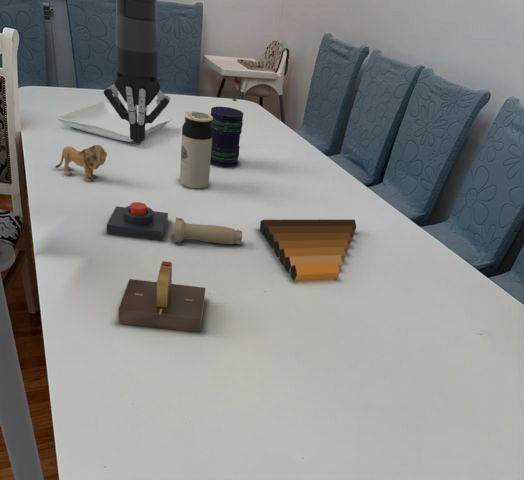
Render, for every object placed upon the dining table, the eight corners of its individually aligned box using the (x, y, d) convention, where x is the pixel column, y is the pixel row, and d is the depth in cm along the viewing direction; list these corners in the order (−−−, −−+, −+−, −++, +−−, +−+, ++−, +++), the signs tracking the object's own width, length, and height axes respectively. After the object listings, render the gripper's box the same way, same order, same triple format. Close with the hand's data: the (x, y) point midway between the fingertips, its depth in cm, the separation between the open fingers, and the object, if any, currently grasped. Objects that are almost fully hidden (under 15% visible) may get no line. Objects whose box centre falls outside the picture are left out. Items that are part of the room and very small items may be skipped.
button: (128, 215, 110) (128, 207, 109) (131, 208, 113) (131, 201, 112) (145, 217, 110) (145, 209, 109) (147, 210, 113) (147, 203, 112)
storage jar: (223, 170, 151) (230, 106, 140) (200, 159, 155) (204, 97, 144) (244, 164, 158) (251, 103, 146) (220, 154, 161) (226, 94, 150)
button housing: (107, 234, 109) (106, 217, 107) (116, 215, 117) (115, 198, 115) (162, 240, 111) (162, 224, 108) (167, 221, 118) (168, 205, 116)
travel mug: (205, 178, 143) (210, 112, 132) (210, 189, 137) (216, 121, 126) (178, 177, 141) (180, 109, 130) (181, 188, 135) (185, 118, 124)
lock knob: (167, 307, 86) (168, 279, 82) (156, 306, 86) (157, 278, 82) (171, 289, 91) (172, 261, 87) (161, 288, 90) (162, 260, 87)
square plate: (103, 111, 179) (102, 99, 176) (172, 129, 175) (173, 117, 172) (56, 128, 158) (55, 115, 156) (133, 148, 154) (133, 135, 151)
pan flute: (348, 228, 131) (259, 229, 123) (351, 216, 129) (261, 216, 120) (395, 278, 113) (295, 283, 105) (400, 265, 111) (298, 269, 103)
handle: (240, 253, 113) (174, 246, 110) (238, 240, 118) (174, 232, 114) (244, 234, 110) (176, 225, 107) (241, 221, 115) (176, 213, 111)
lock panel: (118, 324, 85) (118, 309, 83) (129, 292, 93) (129, 277, 91) (200, 332, 87) (201, 318, 85) (204, 300, 95) (205, 286, 93)
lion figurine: (111, 178, 133) (109, 144, 128) (101, 185, 129) (99, 149, 124) (60, 166, 135) (56, 131, 129) (49, 172, 130) (45, 137, 125)
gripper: (95, 42, 88) (100, 143, 99) (170, 55, 89) (167, 153, 100) (104, 36, 94) (109, 132, 104) (175, 48, 95) (172, 141, 106)
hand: (137, 142), depth 102 cm, fingers closed
